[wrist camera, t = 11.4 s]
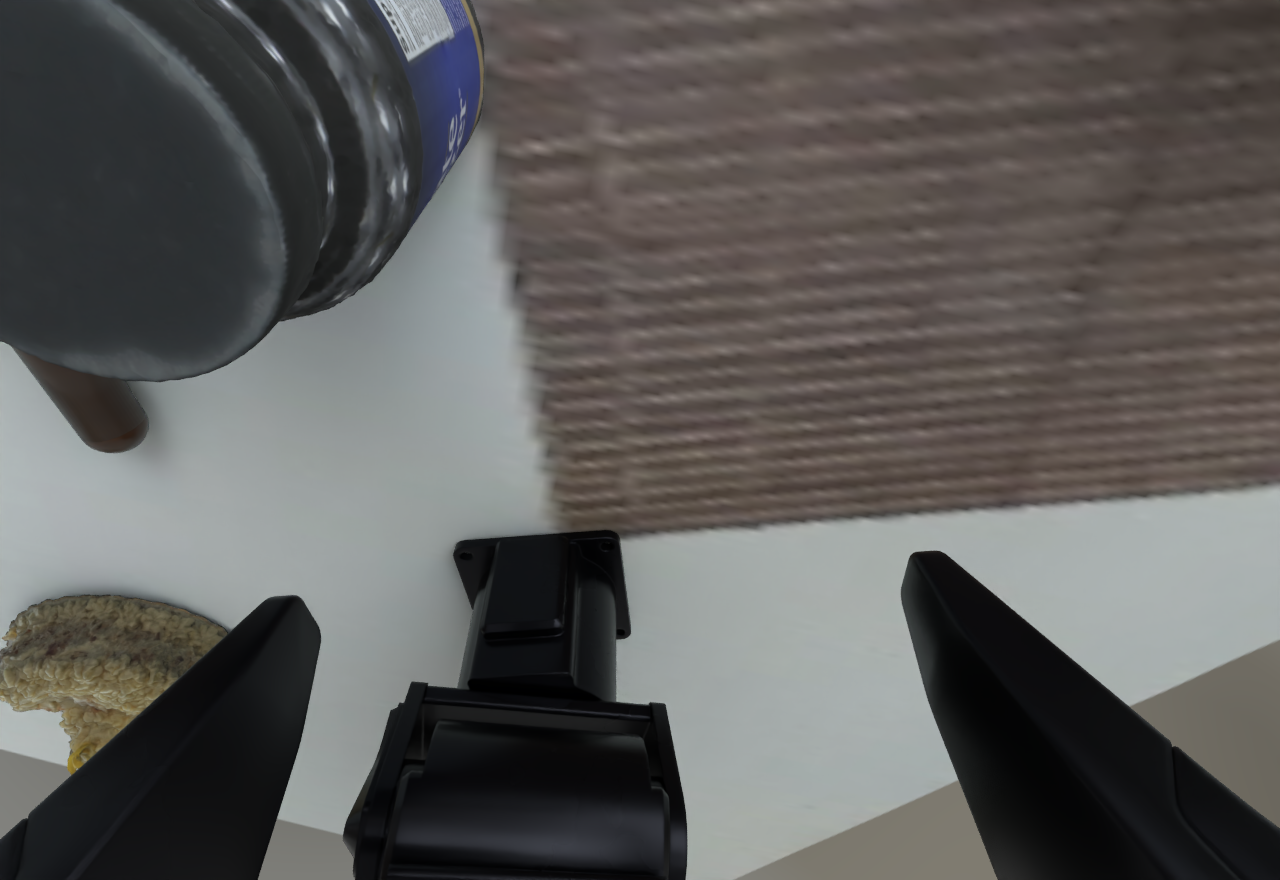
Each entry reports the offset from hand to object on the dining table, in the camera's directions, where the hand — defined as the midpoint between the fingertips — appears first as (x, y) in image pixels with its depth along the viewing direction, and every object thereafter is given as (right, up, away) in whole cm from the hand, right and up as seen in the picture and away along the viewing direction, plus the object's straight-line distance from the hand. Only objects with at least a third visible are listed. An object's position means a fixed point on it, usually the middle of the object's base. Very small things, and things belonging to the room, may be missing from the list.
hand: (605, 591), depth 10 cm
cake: (-22, -8, +21) cm, 31 cm away
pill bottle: (-6, +12, +6) cm, 15 cm away
